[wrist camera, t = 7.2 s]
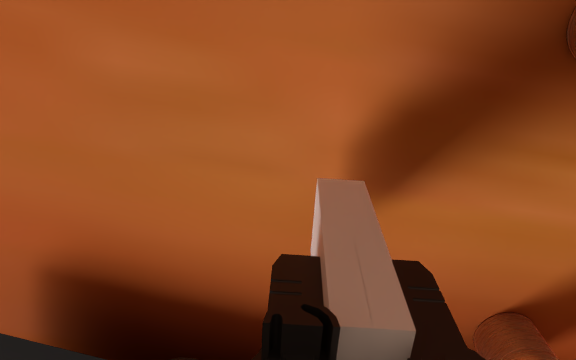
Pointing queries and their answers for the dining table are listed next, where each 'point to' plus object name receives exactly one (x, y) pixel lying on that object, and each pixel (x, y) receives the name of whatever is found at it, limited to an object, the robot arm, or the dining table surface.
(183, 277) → the dining table surface
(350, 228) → the robot arm
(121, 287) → the dining table surface
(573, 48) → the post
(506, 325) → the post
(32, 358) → the lantern
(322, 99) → the dining table surface
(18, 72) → the dining table surface
